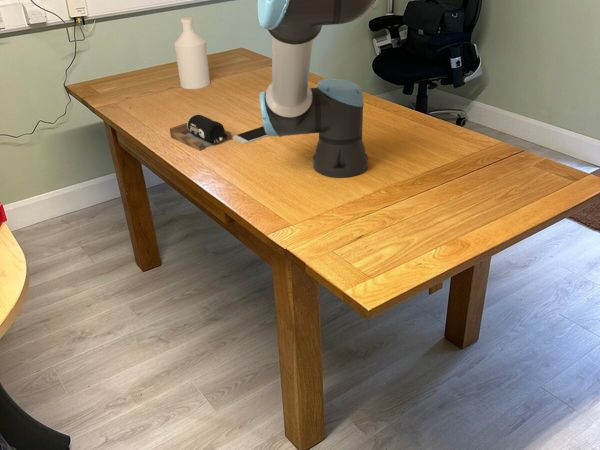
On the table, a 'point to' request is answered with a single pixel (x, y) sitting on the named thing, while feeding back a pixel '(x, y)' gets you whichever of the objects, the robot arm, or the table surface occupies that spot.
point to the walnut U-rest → (180, 135)
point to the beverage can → (206, 128)
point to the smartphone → (250, 135)
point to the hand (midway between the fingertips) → (279, 43)
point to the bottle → (191, 57)
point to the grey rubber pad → (201, 140)
